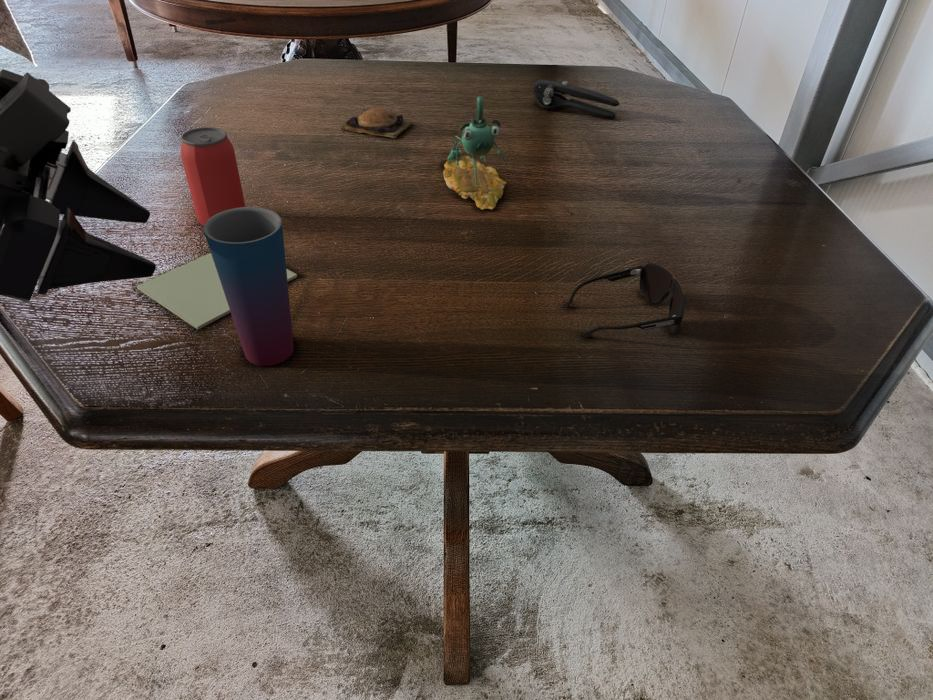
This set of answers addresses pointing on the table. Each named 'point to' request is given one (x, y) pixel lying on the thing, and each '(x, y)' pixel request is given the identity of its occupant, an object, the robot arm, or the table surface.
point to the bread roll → (378, 123)
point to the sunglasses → (648, 295)
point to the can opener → (552, 100)
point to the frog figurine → (475, 163)
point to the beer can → (211, 172)
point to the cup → (254, 280)
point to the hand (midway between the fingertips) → (151, 242)
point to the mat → (192, 292)
